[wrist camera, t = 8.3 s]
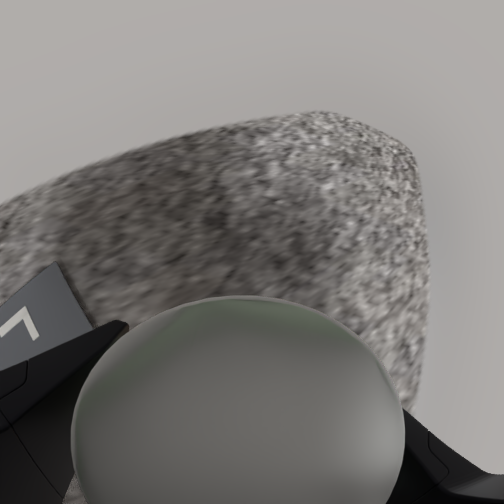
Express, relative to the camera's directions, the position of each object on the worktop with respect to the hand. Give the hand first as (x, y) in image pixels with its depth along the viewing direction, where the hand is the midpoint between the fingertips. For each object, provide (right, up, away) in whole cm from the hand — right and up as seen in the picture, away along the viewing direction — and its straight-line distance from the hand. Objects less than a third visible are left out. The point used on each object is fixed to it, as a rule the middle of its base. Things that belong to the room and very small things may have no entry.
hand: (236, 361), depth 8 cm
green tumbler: (-2, -4, +6) cm, 8 cm away
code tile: (-13, -3, +5) cm, 15 cm away
